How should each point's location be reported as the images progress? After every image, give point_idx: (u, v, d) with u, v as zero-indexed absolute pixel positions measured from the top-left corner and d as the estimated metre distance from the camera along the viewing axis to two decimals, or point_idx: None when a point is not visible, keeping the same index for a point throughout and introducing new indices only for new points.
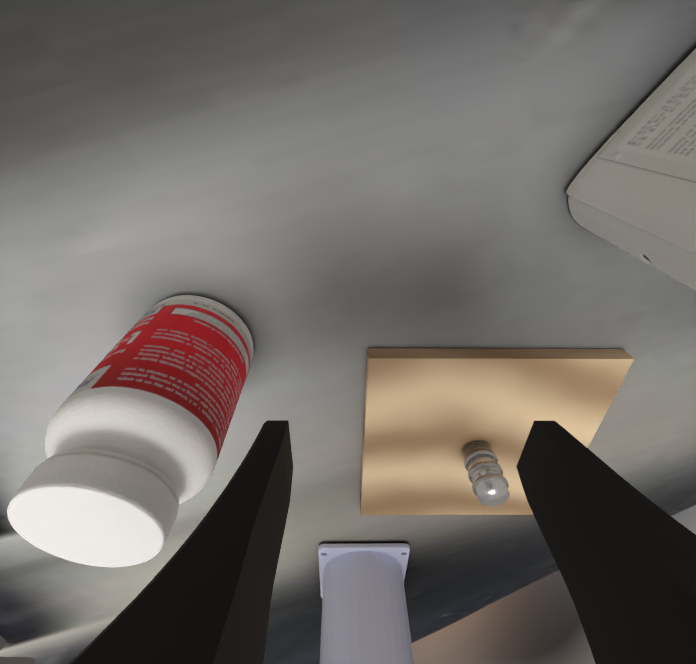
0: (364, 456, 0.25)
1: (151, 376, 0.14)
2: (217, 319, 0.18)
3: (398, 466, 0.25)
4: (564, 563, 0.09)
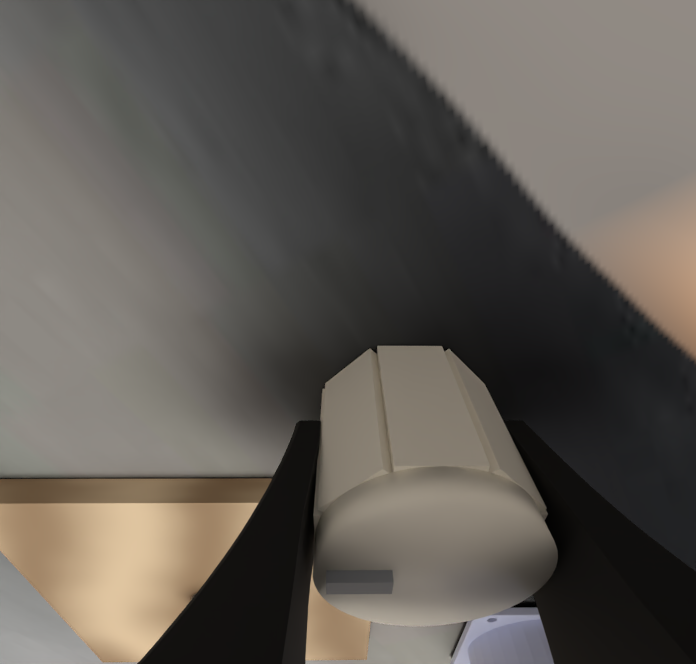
0: None
1: None
2: None
3: None
4: None
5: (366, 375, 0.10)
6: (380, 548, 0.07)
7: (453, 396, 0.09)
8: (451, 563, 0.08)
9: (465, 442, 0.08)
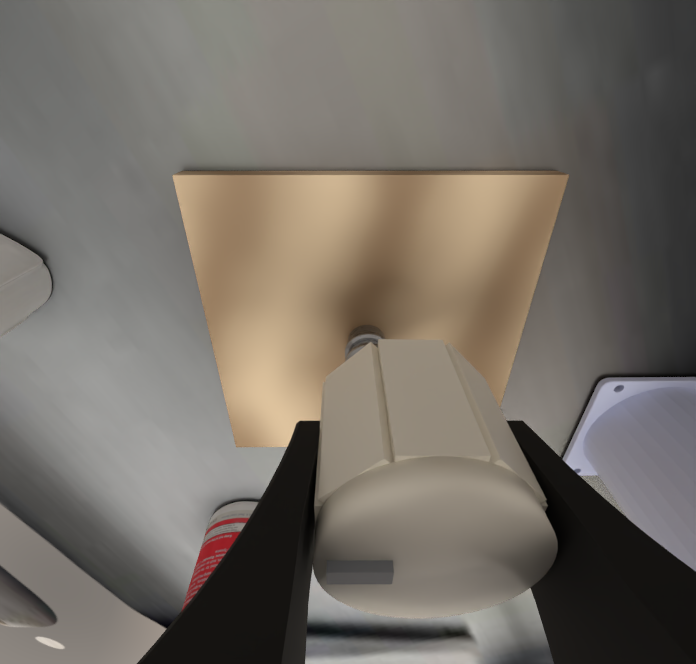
0: None
1: None
2: (207, 533, 0.25)
3: None
4: None
5: (367, 368, 0.10)
6: (381, 537, 0.07)
7: (454, 388, 0.09)
8: (451, 553, 0.08)
9: (466, 433, 0.08)
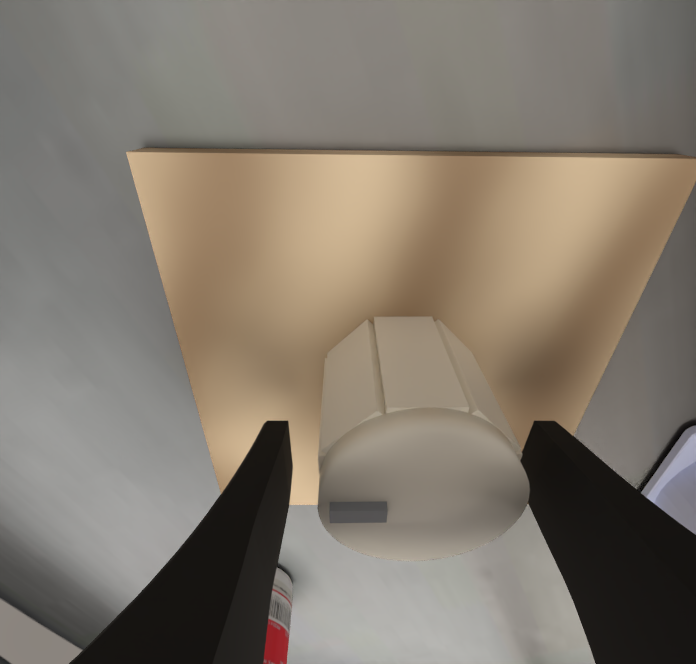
0: None
1: None
2: None
3: None
4: (564, 563, 0.09)
5: (364, 341, 0.11)
6: (375, 478, 0.09)
7: (440, 355, 0.10)
8: (437, 494, 0.09)
9: (449, 390, 0.09)
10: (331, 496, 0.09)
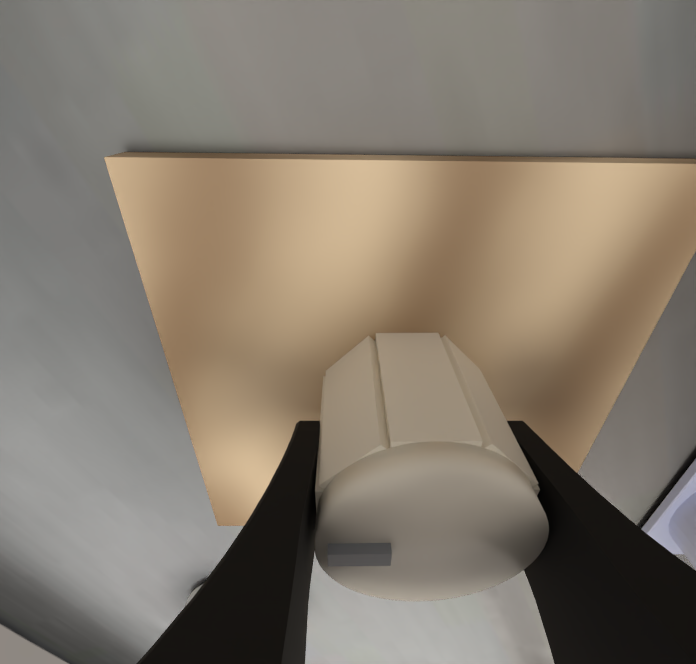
0: None
1: None
2: None
3: None
4: None
5: (365, 360, 0.10)
6: (378, 519, 0.08)
7: (449, 378, 0.09)
8: (447, 535, 0.08)
9: (459, 420, 0.08)
10: (329, 537, 0.08)
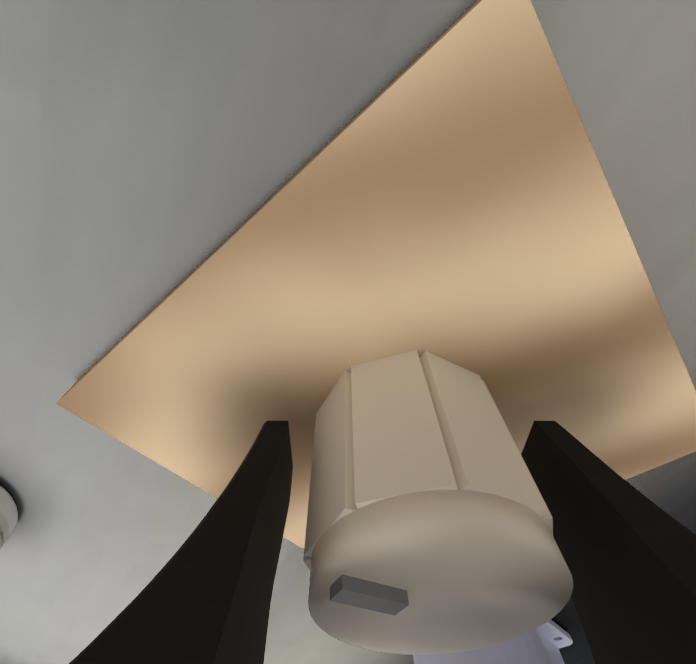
0: None
1: None
2: None
3: None
4: None
5: (415, 376, 0.09)
6: (419, 565, 0.07)
7: (501, 429, 0.09)
8: (466, 598, 0.07)
9: (521, 481, 0.08)
10: (350, 569, 0.07)
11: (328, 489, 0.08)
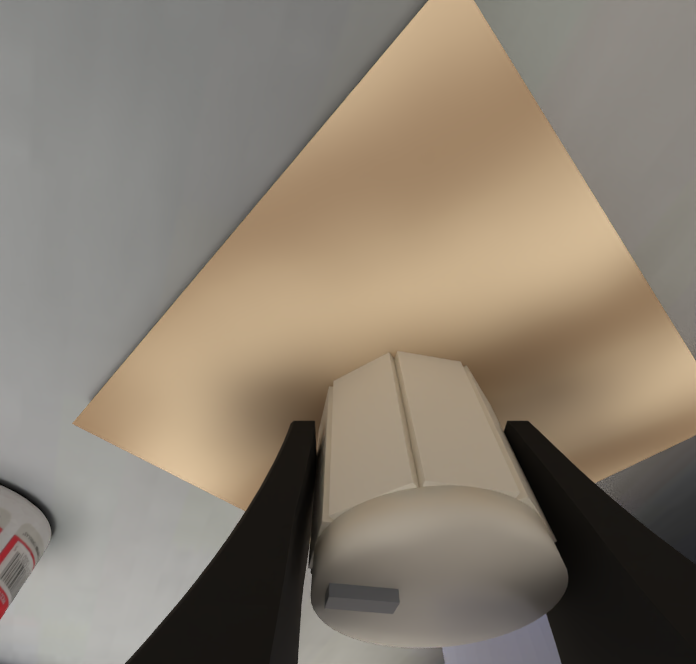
0: None
1: None
2: None
3: None
4: None
5: (386, 379, 0.10)
6: (395, 565, 0.07)
7: (477, 415, 0.09)
8: (460, 588, 0.07)
9: (493, 465, 0.08)
10: (334, 577, 0.07)
11: (318, 504, 0.09)
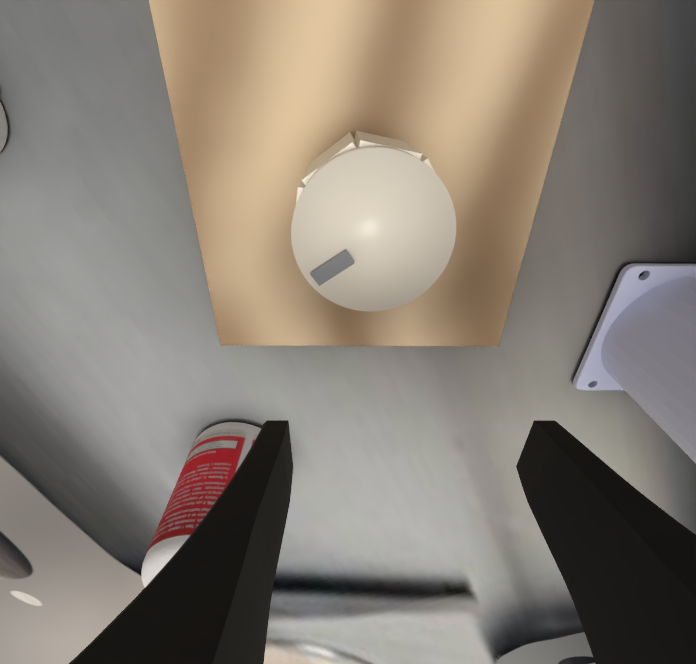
0: (373, 344, 0.20)
1: None
2: (190, 453, 0.23)
3: None
4: (564, 563, 0.09)
5: None
6: (321, 231, 0.12)
7: (346, 140, 0.13)
8: (373, 220, 0.11)
9: (343, 147, 0.12)
10: (307, 265, 0.12)
11: None
